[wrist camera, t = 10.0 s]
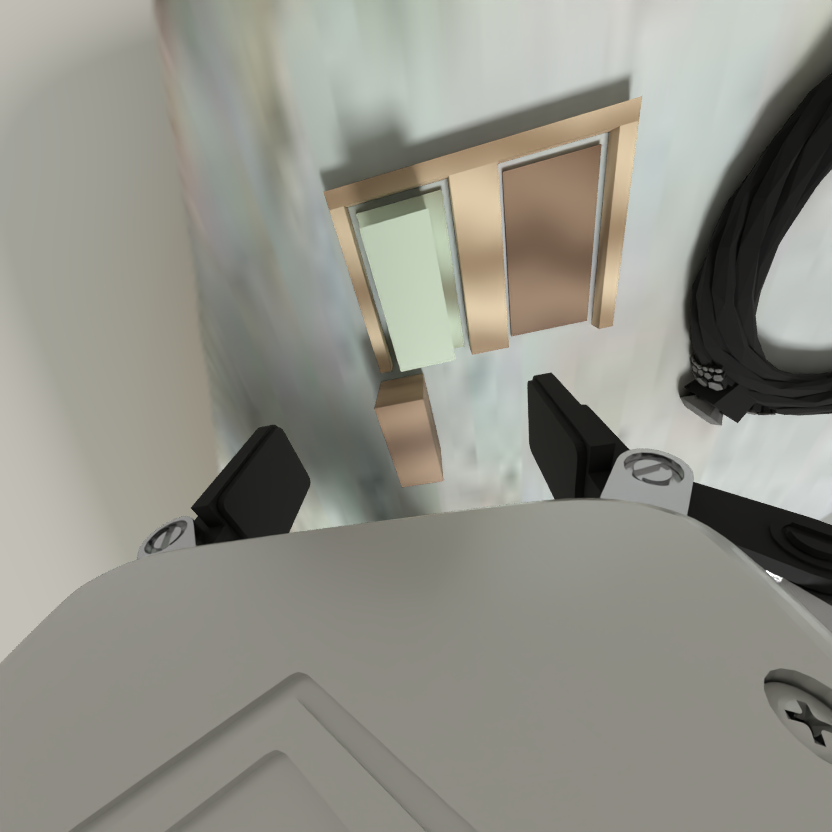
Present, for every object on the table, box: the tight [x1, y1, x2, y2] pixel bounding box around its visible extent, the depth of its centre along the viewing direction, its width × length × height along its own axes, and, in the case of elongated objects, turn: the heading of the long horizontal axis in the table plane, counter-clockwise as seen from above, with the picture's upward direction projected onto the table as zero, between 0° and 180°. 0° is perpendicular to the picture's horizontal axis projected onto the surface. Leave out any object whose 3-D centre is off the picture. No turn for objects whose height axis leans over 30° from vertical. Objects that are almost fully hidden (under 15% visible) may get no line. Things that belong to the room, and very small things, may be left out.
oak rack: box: [324, 96, 642, 373], centre depth 22 cm, size 13×19×1 cm
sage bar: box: [359, 208, 456, 372], centre depth 21 cm, size 9×4×5 cm, turn 14°
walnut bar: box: [374, 373, 443, 487], centre depth 28 cm, size 9×4×5 cm, turn 13°
